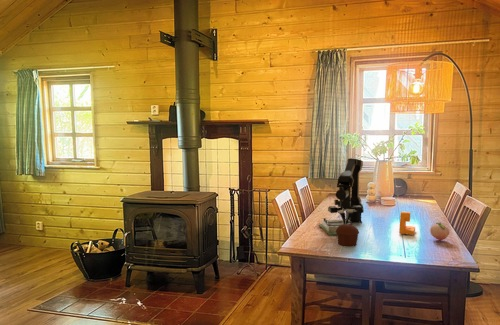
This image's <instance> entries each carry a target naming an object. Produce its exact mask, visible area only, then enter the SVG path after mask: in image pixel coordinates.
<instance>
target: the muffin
mask: <svg viewBox="0 0 500 325" xmlns="http://www.w3.org/2000/svg"><path fill="white" fill-rule="evenodd" d="M336 233H337V236H336V238H337V244H338V245H339V246H342V247H344V248H345V247H347V248H351V247H352V248H353V247H356V246H357V243H358V238H359V237H358V236H359V234H360V231H359V229H358V228H357V227H356V226H355V225H353V224H352V225H350V224H344V225H341V226H339V227H338V228H337V229H336Z"/></svg>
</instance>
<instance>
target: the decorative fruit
mask: <svg viewBox="0 0 500 325" xmlns="http://www.w3.org/2000/svg"><path fill="white" fill-rule="evenodd" d="M429 230H430V231H429V232H430V235H431V236H432V237H433V238H435V239H437V240H438V241H439V242H440V241H444V240H446V239H447V238H448V237H449V235H450V233H451V232H450V228H448V227H447V226H446V225H444V224H442V222H436V223H435V224H432V225H431V227H430V229H429Z"/></svg>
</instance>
